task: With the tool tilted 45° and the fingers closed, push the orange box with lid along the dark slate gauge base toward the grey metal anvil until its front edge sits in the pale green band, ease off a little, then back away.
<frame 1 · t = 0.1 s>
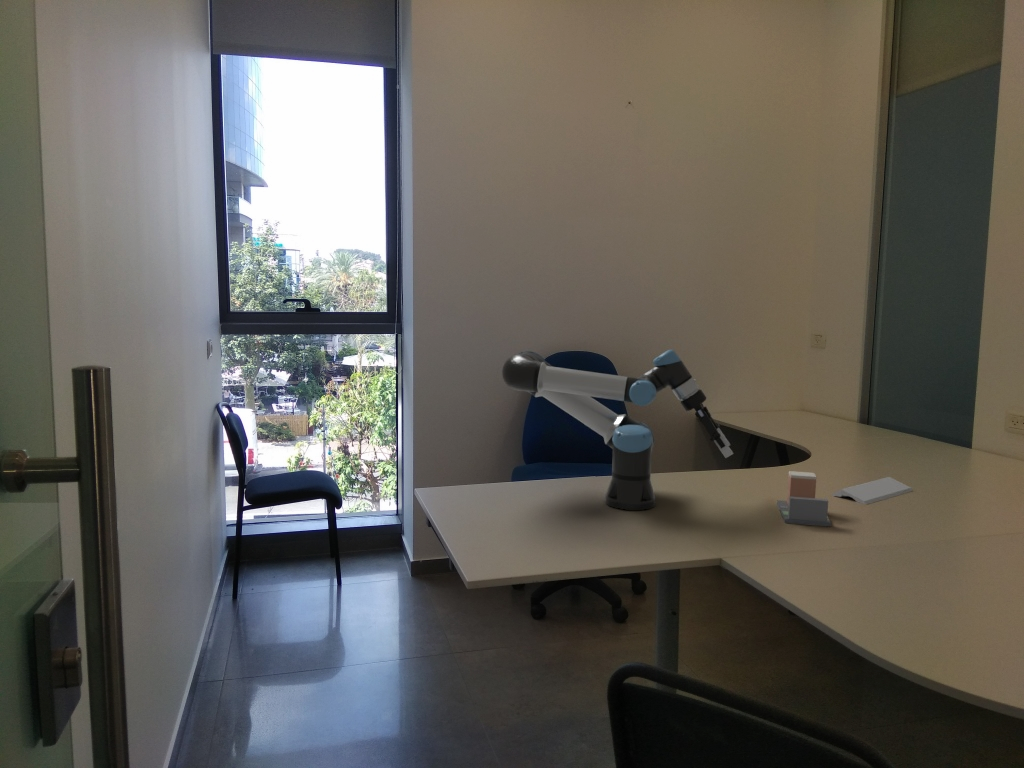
hand: (728, 451, 225), 15 cm above the table, tool tilted 35°, fingers open, 13 cm apart
orange box with lid: (801, 489, 215), point 6 cm above the table, slide at 0.0 cm
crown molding: (871, 495, 236), on the table
gauge base: (802, 514, 212), on the table
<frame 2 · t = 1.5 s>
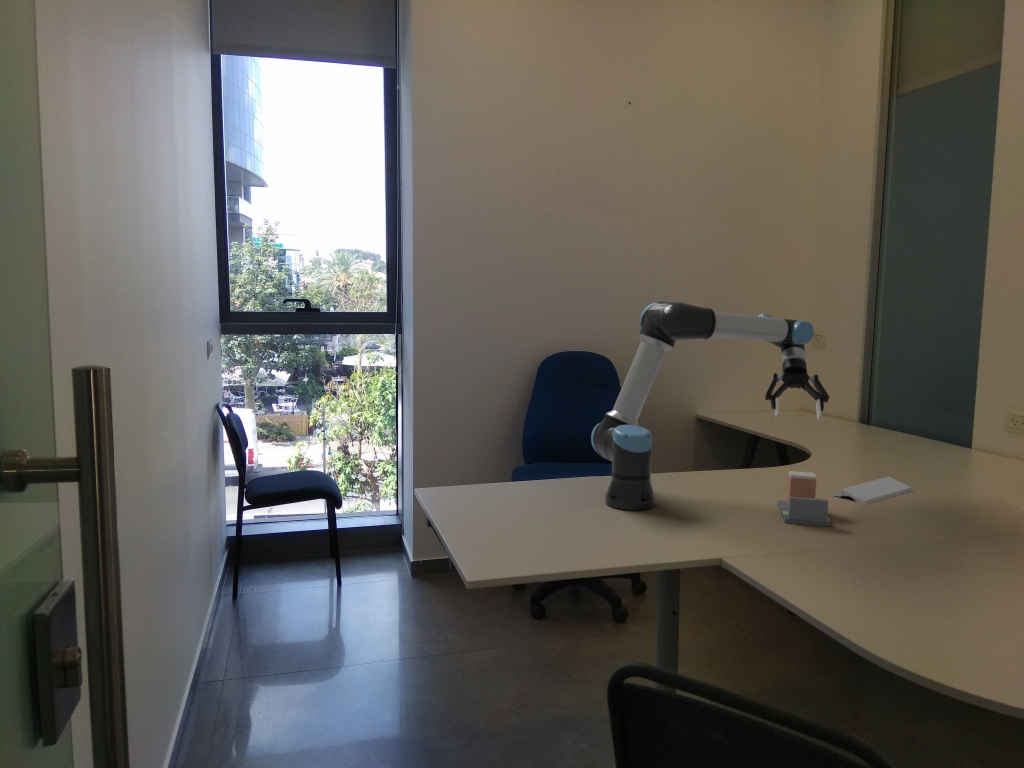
hand: (798, 417, 226), 26 cm above the table, tool tilted 45°, fingers open, 12 cm apart
nothing on the table moved.
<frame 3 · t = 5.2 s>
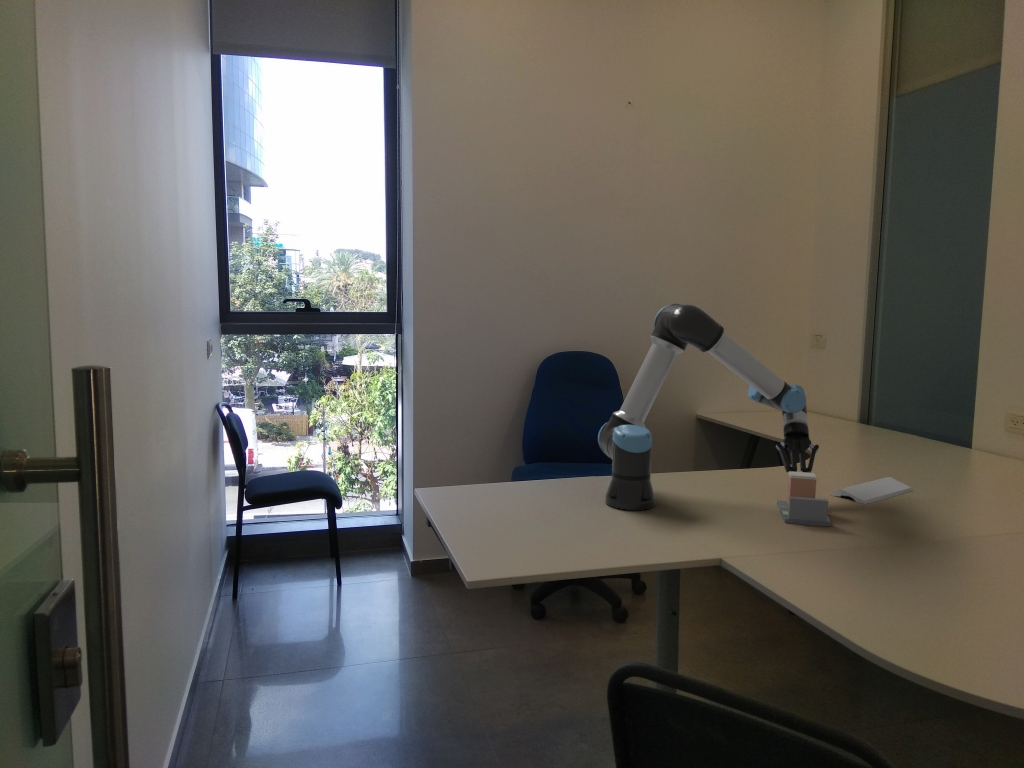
hand: (800, 491, 219), 5 cm above the table, tool tilted 45°, fingers closed
orange box with lid: (801, 490, 215), point 6 cm above the table, slide at 0.2 cm, touching gripper
everything else where it was.
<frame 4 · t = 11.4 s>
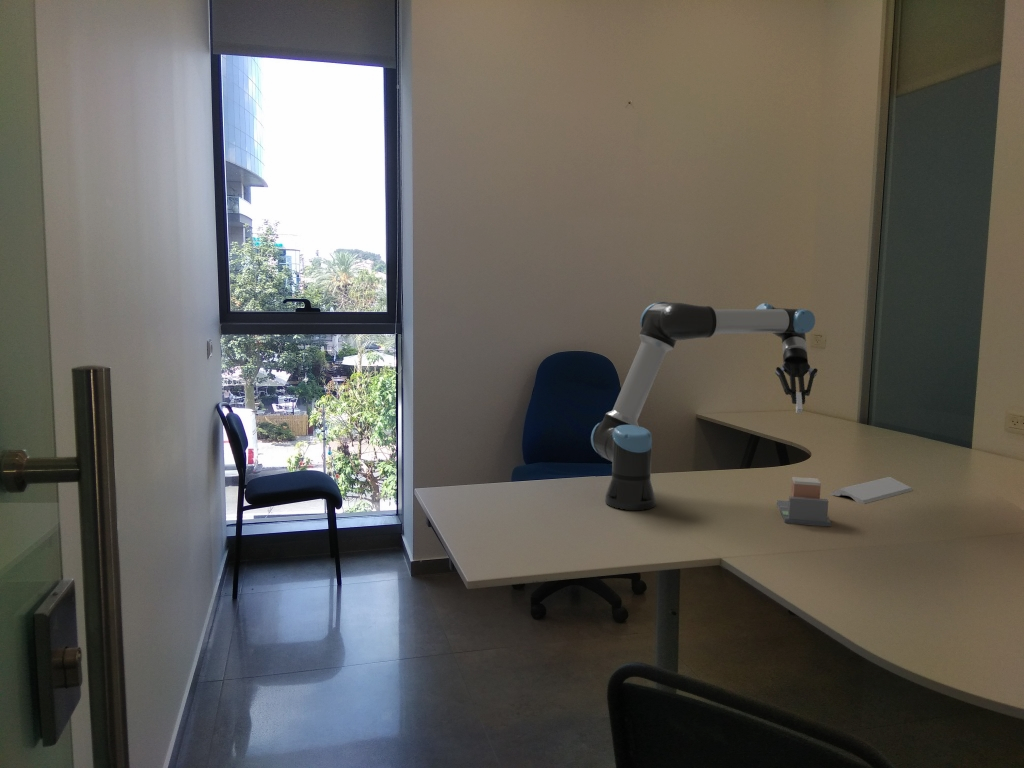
hand: (799, 411, 225), 28 cm above the table, tool tilted 45°, fingers closed
orange box with lid: (805, 496, 208), point 6 cm above the table, slide at 7.2 cm
everything else where it was.
at the end: orange box with lid slide at 7.2 cm; orange box with lid touching nothing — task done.
